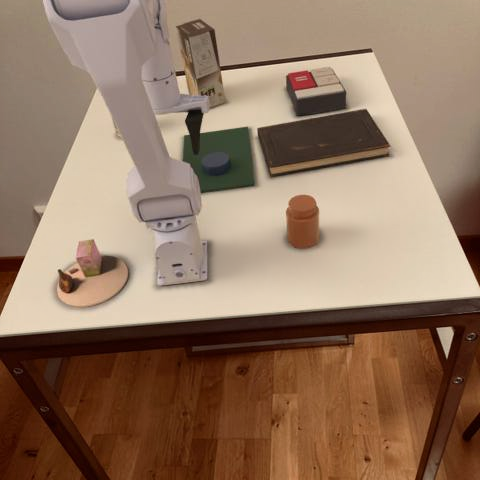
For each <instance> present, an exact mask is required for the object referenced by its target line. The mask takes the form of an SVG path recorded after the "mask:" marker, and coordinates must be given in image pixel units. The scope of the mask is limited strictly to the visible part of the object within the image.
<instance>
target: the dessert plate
mask: <svg viewBox="0 0 480 480" xmlns="http://www.w3.org/2000/svg"><path fill="white" fill-rule="evenodd" d="M75 259H76V261H77V262H76V263H74V264H73V265H71V266H70V267H68V268H67V270H65V271H63V270H62V269H61V268H59V269H57V273H58V277H59V278H58V283H57V286H56V290H57V291H56V293H57V296H58V298H59V300H60V301H62V302H63V303H65V304H66V305H68V306H71V307H77V308H89V307H94V306H98V305H100V304H103V303H106V302H107V301H110V300H111V299H113V298H114V297H116V296H117V295H118V294H120V292H122V290H123V289H124V288H125V286H126V285H127V283H128V281H129V278H130V268H129V267H128V265H127V263H126V262H125V261H124V260H122V259H121V258H118V257H116V256H113V255H107V254H105V255H104V254H102V255H101V253H100V251H99V248H98V246H97V243H96V241H95V239H86V240H85V239H84V240H79V241H78V245H77V250H76V255H75Z"/></svg>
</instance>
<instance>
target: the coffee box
mask: <svg viewBox="0 0 480 480" xmlns="http://www.w3.org/2000/svg"><path fill="white" fill-rule="evenodd" d="M175 31H176V36H177V41H178V47H179V51H180V56H181V61H182V65H183V70H184V74H185V80H186V85H187V90H188V95H196V96H208V98H209V104H210V108H214V107H217V106H219V105H222V104H225V103H226V97H225V96H226V95H225V90H224V89H225V88H224V83H223V76H222V70H221V63H220V55H219V49H218V44H217V36H216V30H215V28H213V27H212V26H211V25H209V24H207V22H205V21H203V20H202V19H201V18H198V19H195V20H194V19H193V20H191V21H187V22H184V23H182V24H179V25H176V26H175Z"/></svg>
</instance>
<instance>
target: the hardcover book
mask: <svg viewBox="0 0 480 480" xmlns="http://www.w3.org/2000/svg"><path fill="white" fill-rule="evenodd" d="M256 130H257V139H258V141H259V144H260V147H261V151H262V154H263V158H264V161H265V164H266V167H267V171H268V174H269V177H270V178H274V177H279V176H285V175H291V174H296V173H302V172H308V171H314V170H318V169H324V168H330V167H335V166H341V165H347V164H353V163H358V162H365V161H369V160H376V159H381V158H386V157H387V158H388V157H390V153H389V148H391V144H390V143H389V142H388V140H387V138H386V137H385V135H384V134H383V132H382V130H381V129H380V128H379V126H378V125H377V122H376V121H375V119H374V118H373V117H372V115H371V113H370V112H369V111H368V108H362V109H356V110H355V109H354V110H350V111H344V112H339V113H333V114H328V115H322V116H316V117H310V118H305V119H300V120H294V121H288V122H281V123H278V124H277V123H276V124H272V125H266V126H261V127H257V128H256Z"/></svg>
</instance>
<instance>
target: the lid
mask: <svg viewBox="0 0 480 480" xmlns="http://www.w3.org/2000/svg"><path fill="white" fill-rule="evenodd" d="M201 162H202V169H203V171H204V173H205V174H207V175H211V176H217V175H221V174H224V173H226V172H227V171H228V170H229V169H230V168H231V162H230V158H229V155H228V154H226V153H224V152H213V153H210V154H207V155H206V156H204V157H203V158H202V161H201Z"/></svg>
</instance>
